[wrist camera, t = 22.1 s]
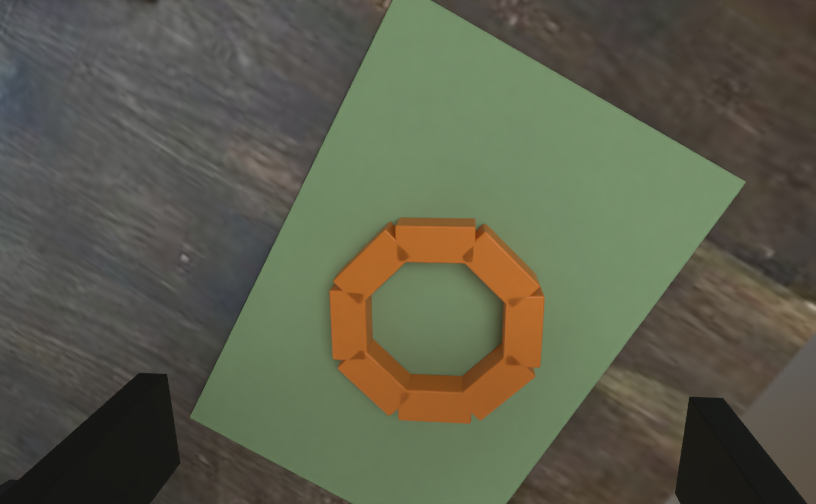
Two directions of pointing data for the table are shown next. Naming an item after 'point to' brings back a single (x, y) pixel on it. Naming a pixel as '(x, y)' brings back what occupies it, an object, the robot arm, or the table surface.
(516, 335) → the ring
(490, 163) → the mat
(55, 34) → the table surface
